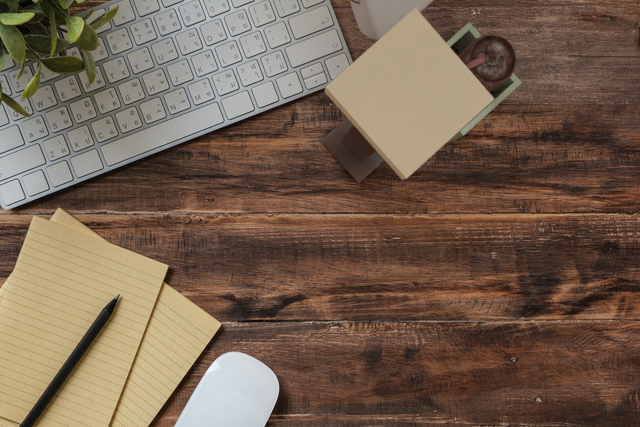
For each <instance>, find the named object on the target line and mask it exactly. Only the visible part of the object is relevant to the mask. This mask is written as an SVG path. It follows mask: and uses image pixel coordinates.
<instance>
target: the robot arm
mask: <svg viewBox="0 0 640 427" xmlns="http://www.w3.org/2000/svg"><path fill="white" fill-rule="evenodd" d="M349 2H350V6H351V9H352V12H353V16H354V19H355V22H356V24H357V26H358V29H359V31H360V33H362V34H363V35H364V36H366V37H367V38H369V39H371V40H374V41H376V42H377V41H378V40H379V39H380V38H381V37H382V36H384V35H385V34H386V33H387V32H388V31H389V30H390V29H392V28H393V27H394V26H395V25H396V24H397V23H398V22H399V21H401V20H402V19H403V18H404V17H405V16H406V15H407V14H409V13H410V12H411V11H412V10H413V9H414V8H416V9H417V10H418V11H419V12H420V13H421V12H422V11H424V10H425V9H426V8H427V7H428V6H429V5H431V3H433V2H434V0H349Z"/></svg>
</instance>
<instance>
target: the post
mask: <svg viewBox="0 0 640 427" xmlns="http://www.w3.org/2000/svg"><path fill="white" fill-rule="evenodd" d="M319 142H320V144H321V145H322V146H324V148H325V149H326V150H327V151H328V152H329V153H330V154H331V156H332V157H333V158H334V159H335V160H336V161H337V163H338V164H340V166H341V167H342V168H343V169H344V170H345V171H346V173H347V174H348V175H349V176H350V177H351V178H352V179H353V180H354V181H355V183H356V184H357V185H358V184H361V182H363V180H365V179H366V178H367V177H368V176H369V175H370V174H371V173H372V172H374V170H376V169H377V168H378V167H379V166H381V165H382V163H383V162H384V161H385V160H384V159H383V158H382V156H381V155H380V154H379V153H378V152H377V151H376V150H375V149H374V147H373V146H372V145H371V144H370V143H369V142H368V141H367V139H366V138H365V137H364V136H363V135H362V134H361V133H360V132H359V130H358V129H357V128H356V127H355V126H354V125H353V124H352V123H351V121H350V120H349V119H348V118H347V117H346V116H345V118H344V119H342V121H340V122H339V123H338V124H337V125H336V126H335V127H334V128H332V129H331V130H330V131H329V132H328V133H326V134H325V136H323V137H322V138H321V139H320V141H319Z"/></svg>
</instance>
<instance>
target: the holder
mask: <svg viewBox="0 0 640 427" xmlns="http://www.w3.org/2000/svg"><path fill="white" fill-rule="evenodd" d="M481 36H482V35H481V33H480V32H479V31H478V30H477V29H476V27H474V25H473V24H472V23H471V22H470V21H468V22H467V23H466V24H465V25H464V26H462V28H460V29H459V30H458V31H457V32H456V33H455V34H453V36H452V37H450V38H449V39H448V40H447V41H445V42H446V43H447V44H448V46H449V47H450V48H451V49H452V48H453V47H454V49H455V50H456V51H457V52H458V53H459V54H460V53H461V52H462V51H463V50H464V49H465V48H466V47H467V46H468V45H469V44H470V43H471V42H473V41H474V40H475V39H477V38H479V37H481ZM522 83H523V82H522V81H521V80H520V79H519V78H518V76H517V75H516V74H515V73H514V72H513V74H512V76H511V77H510V78H509V79H508V80H507V81H506V83H504V84H502V85H501V86H499V87H497V88H496V89H494V90H492V91H491V92H493V94H491V95H492V97H493V98H494V100H493V101H492V102H491V103H490V104H489V105H488V106H486V107H485V108H484V109H483V110H482V111H481V112H480V113H479V114H478V115H477V116H475V117H474V118H473V119H472V120H471V121H470V122H469V123H468V124H467V125H466V126H464V127H463V128H462V129H461V130H460V131H459V132H458V133H457V134H456V135H454V136H453V137H452V138H451V139H450V140H449V141H448V142H447V143H451V142H453V141H456V140H457V139H459V138H460V139H461V138H462V137H464V136H465V135H466V134H467V133H469V132H470V131H471V130H472V129H473V128H475V126H476V125H478V123H479V122H481V121H482V120H483V119H484V118H485V117H486V116H487V115H489V114H490V113H491V112H492V111H493V110H494V109H495V108H496V107H497V106H498V105H499V104H501V103H502V102H503V101H504V100H505V99H506V98H507V97H508V96H509V95H511V93H513V92H514V91H515V90H516V89H517V88H518V87H520V85H522Z"/></svg>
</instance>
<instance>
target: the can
mask: <svg viewBox="0 0 640 427" xmlns="http://www.w3.org/2000/svg"><path fill="white" fill-rule="evenodd" d="M457 56H458V57H459V58H460V60H461V61H462V62H463V63H464V64H465V65H466V66H467V68H468V69H469V70H470V71H471V72H472V73H473V75H474V76H475V77H476V78H477V79H478V80H479V81H480V83H481V84H482V85H483V86H484V87H485V88H486V90H487V91H488V92H489V93H492V92H493V91H492V90H494V89H496V88H497V87H499V86H501V85H502V84H504V83H506V81H507V80H508V79H509V78H510V77H511V76H512V74H513V73H514V71H515V68H516V63H517V55H516V51H515V48H514V47H513V45H512V44H511V42H510V41H509V40H507V39H506V38H504V37H503V36H500V35H497V34H486V35H481V37H479V38H477V39H475V40H474V41H473V42H471V43H470V44H469V45H468V46H467V47H466V48H465V49H464V50H463V51H462V52H461V53H459V54H457Z"/></svg>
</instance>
